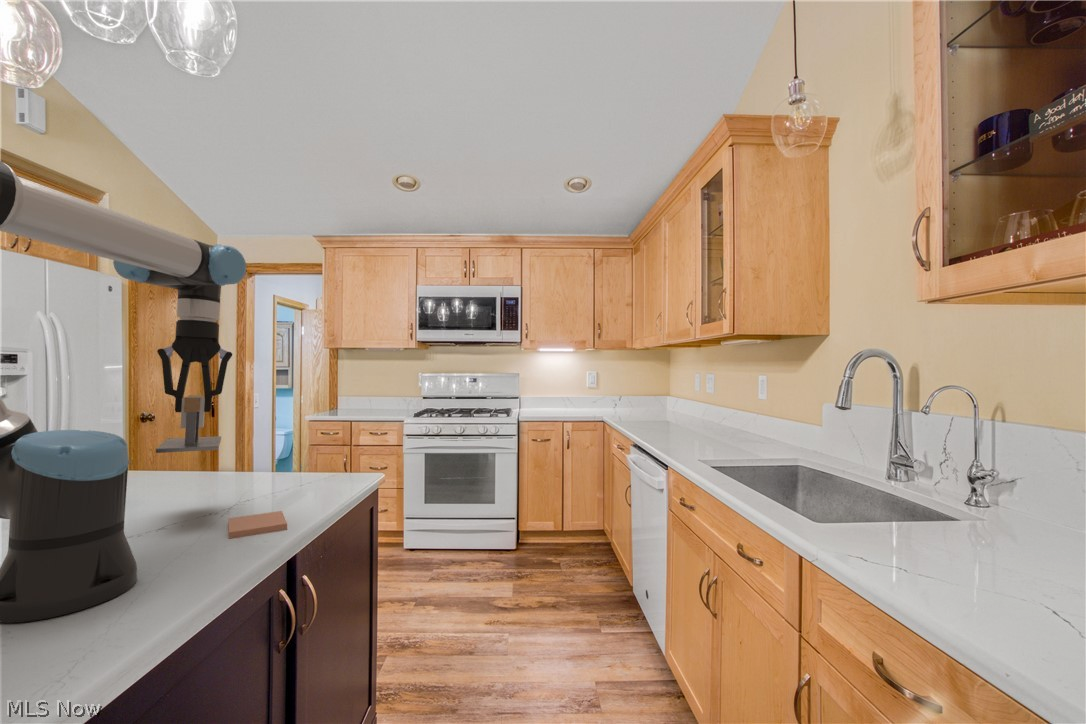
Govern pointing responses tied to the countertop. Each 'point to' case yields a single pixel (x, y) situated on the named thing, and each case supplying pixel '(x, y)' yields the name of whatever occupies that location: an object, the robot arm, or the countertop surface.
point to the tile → (256, 524)
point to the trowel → (190, 432)
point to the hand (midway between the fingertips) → (192, 427)
